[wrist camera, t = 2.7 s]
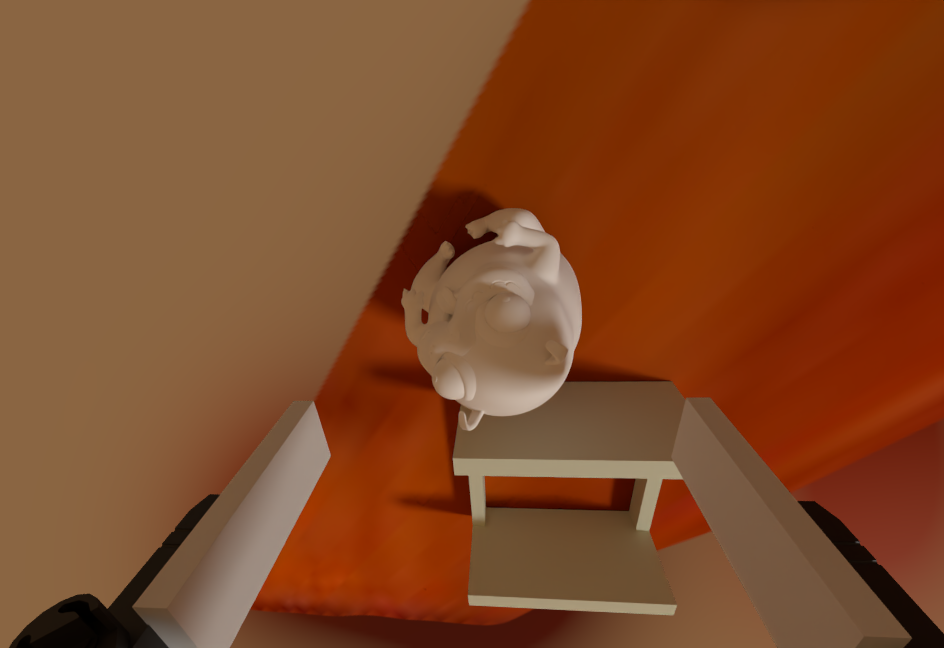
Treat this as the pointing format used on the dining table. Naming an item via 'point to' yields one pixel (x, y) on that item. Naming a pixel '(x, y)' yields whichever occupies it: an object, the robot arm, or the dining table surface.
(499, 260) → the figurine
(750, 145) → the dining table surface
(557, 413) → the beige open frame
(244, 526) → the robot arm
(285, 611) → the dining table surface
